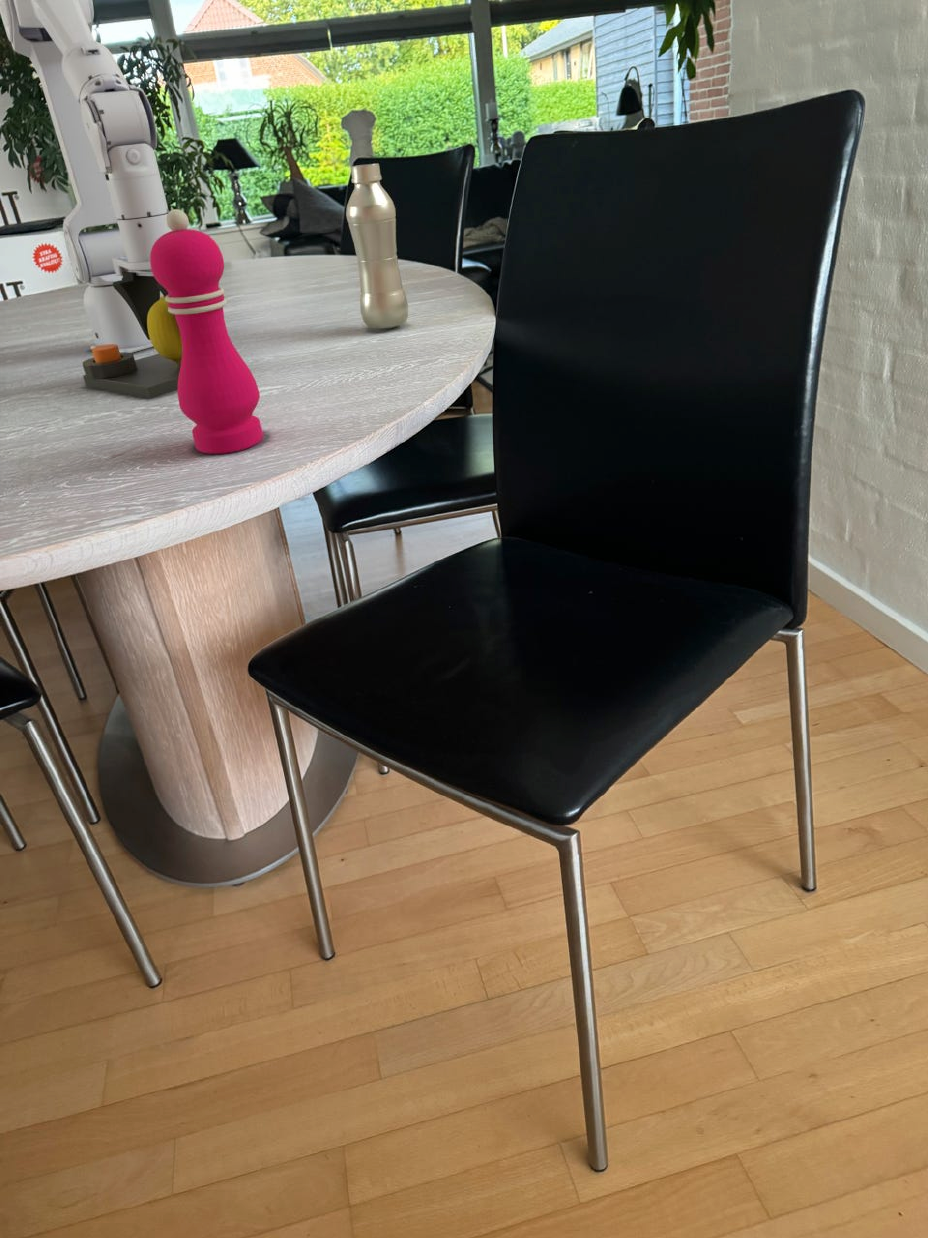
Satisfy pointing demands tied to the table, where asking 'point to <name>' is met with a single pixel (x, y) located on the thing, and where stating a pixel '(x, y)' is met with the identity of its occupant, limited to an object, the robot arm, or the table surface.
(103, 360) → the button
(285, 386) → the table surface
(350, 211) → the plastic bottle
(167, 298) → the pepper mill
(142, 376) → the grey peg base
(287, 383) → the table surface
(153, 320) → the lemon
